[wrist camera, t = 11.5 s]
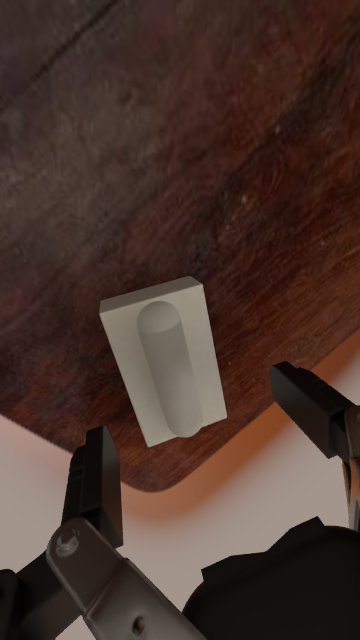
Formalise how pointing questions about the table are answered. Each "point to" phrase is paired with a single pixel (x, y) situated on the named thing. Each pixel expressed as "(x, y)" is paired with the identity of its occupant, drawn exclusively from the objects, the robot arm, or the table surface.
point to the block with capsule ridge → (166, 357)
